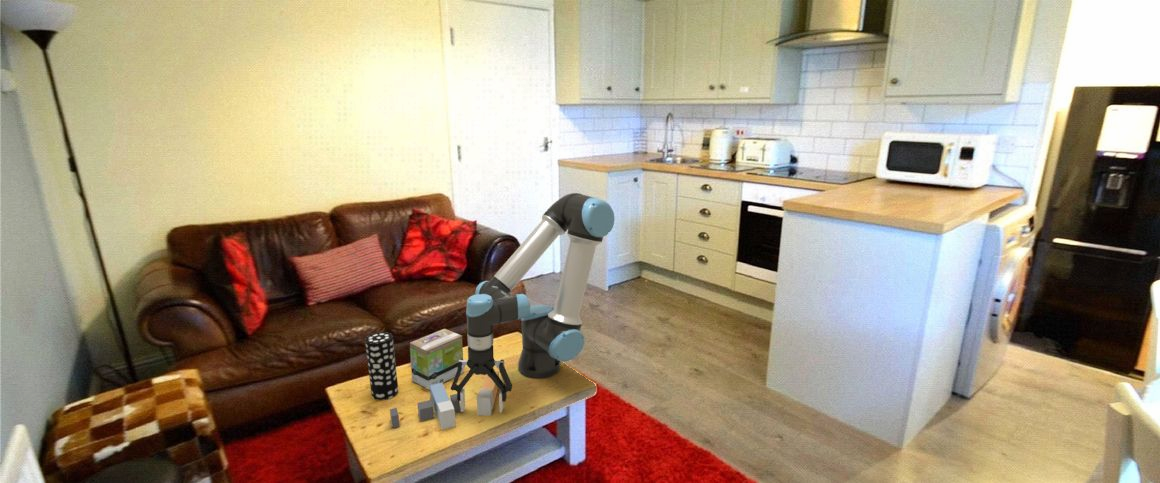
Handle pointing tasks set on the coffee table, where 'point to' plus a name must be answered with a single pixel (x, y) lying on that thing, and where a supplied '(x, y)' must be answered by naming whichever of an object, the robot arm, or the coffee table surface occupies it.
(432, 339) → the tea box
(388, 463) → the coffee table surface
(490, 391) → the white-capped orange post
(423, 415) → the grey blocks
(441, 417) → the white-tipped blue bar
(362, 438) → the coffee table surface
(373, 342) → the spotted tube
